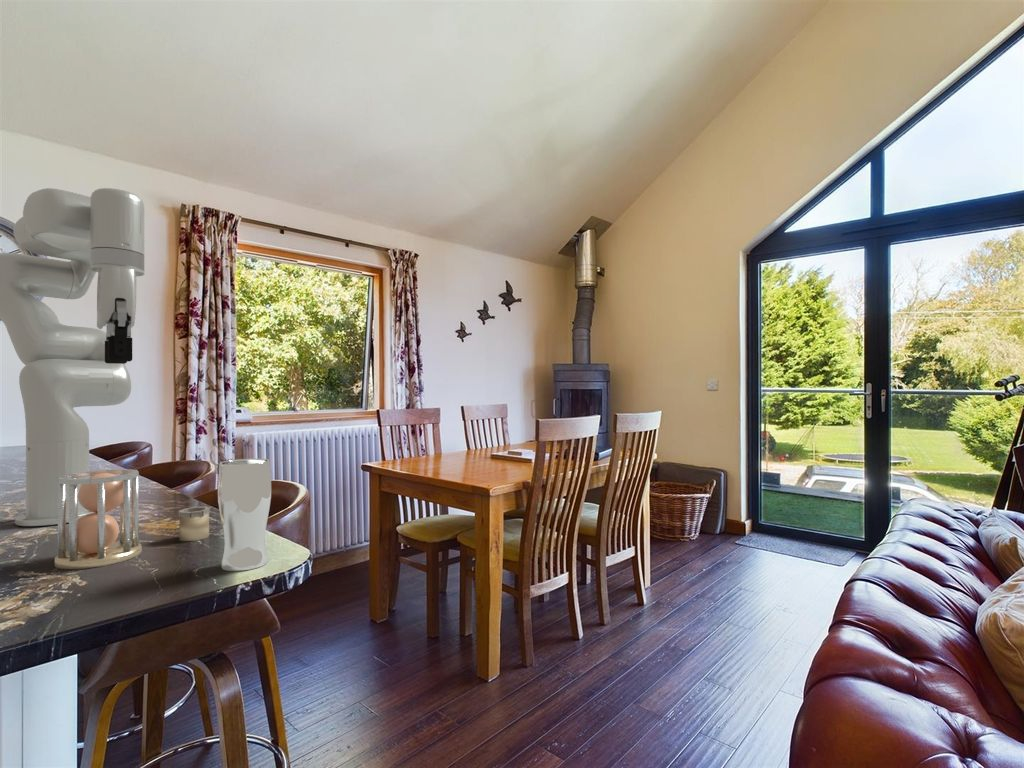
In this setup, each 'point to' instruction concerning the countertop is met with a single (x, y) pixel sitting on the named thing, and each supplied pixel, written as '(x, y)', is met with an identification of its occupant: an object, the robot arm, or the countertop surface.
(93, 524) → the ball
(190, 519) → the stand
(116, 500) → the terracotta ball
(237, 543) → the beer glass
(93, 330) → the robot arm
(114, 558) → the cage tube
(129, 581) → the countertop surface
